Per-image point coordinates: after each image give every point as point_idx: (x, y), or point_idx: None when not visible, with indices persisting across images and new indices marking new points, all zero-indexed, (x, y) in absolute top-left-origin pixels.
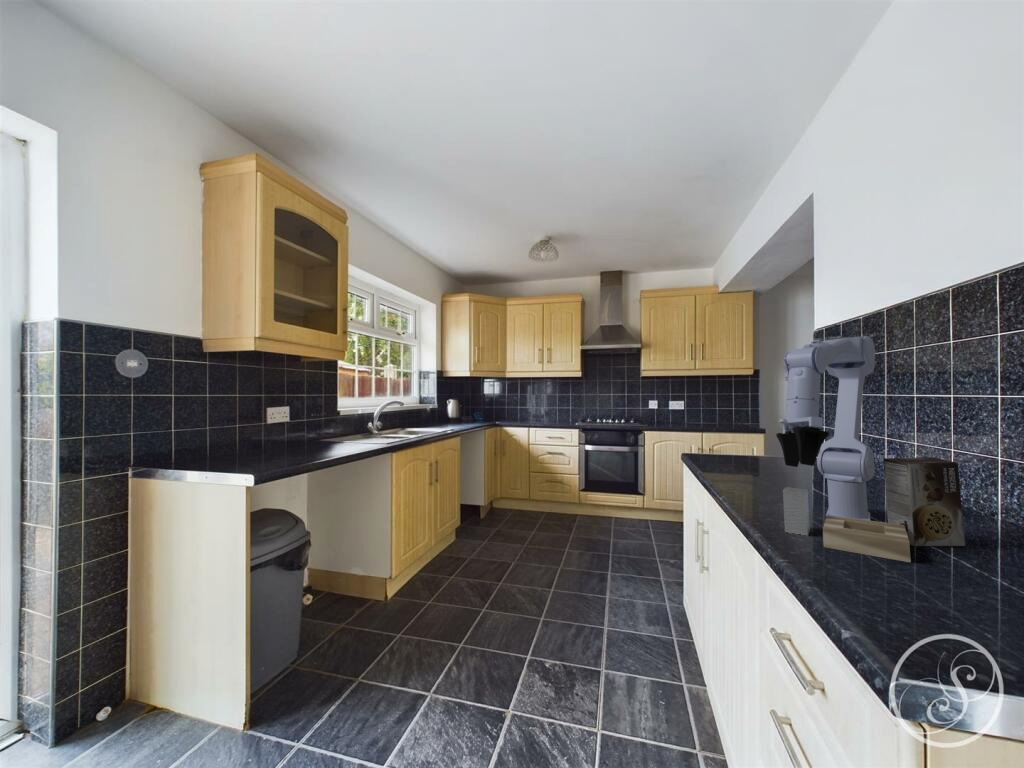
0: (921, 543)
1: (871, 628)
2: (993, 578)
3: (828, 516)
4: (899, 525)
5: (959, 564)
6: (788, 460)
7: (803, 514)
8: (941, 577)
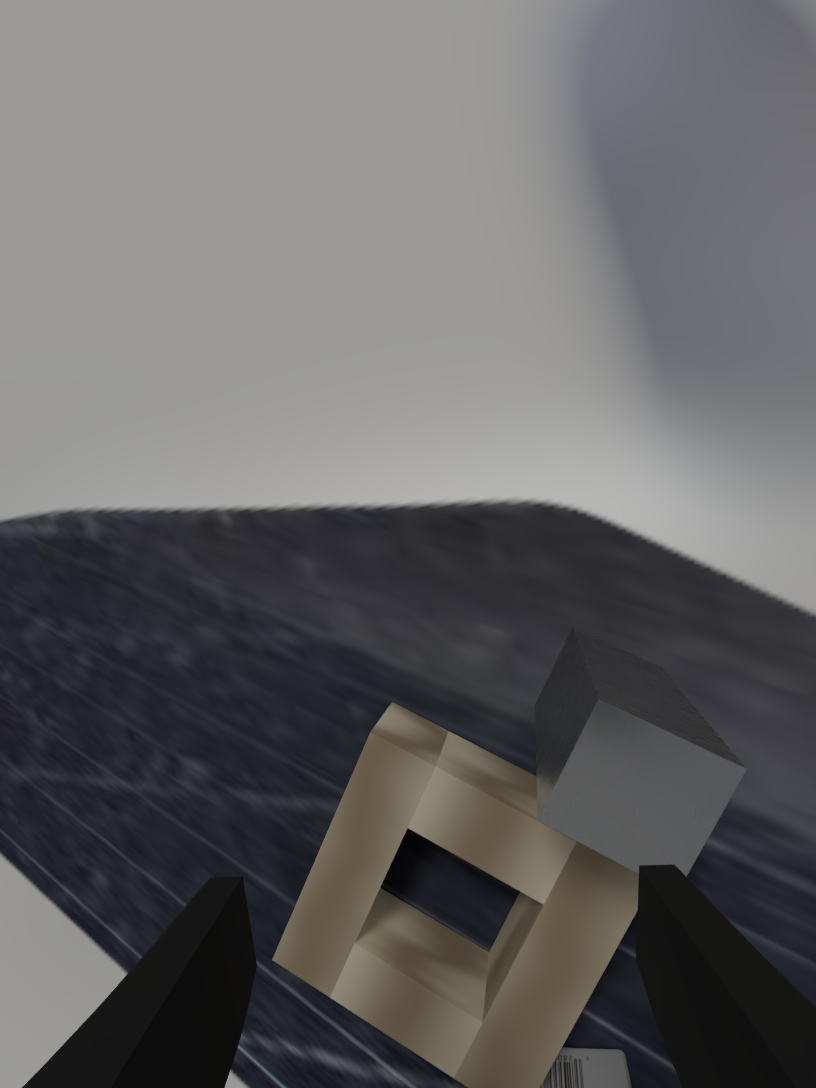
0: None
1: None
2: None
3: (618, 873)
4: None
5: (327, 1037)
6: (665, 935)
7: (543, 735)
8: None
